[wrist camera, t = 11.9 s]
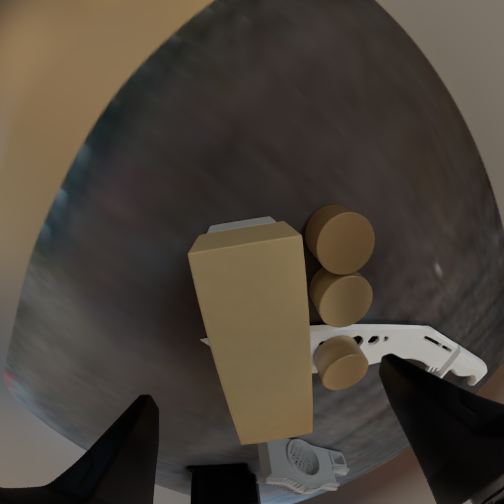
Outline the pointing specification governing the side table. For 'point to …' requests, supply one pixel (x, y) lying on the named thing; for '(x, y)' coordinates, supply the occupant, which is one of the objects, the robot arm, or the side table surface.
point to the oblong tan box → (257, 324)
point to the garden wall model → (290, 475)
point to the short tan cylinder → (340, 297)
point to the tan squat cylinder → (340, 362)
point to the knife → (404, 347)
